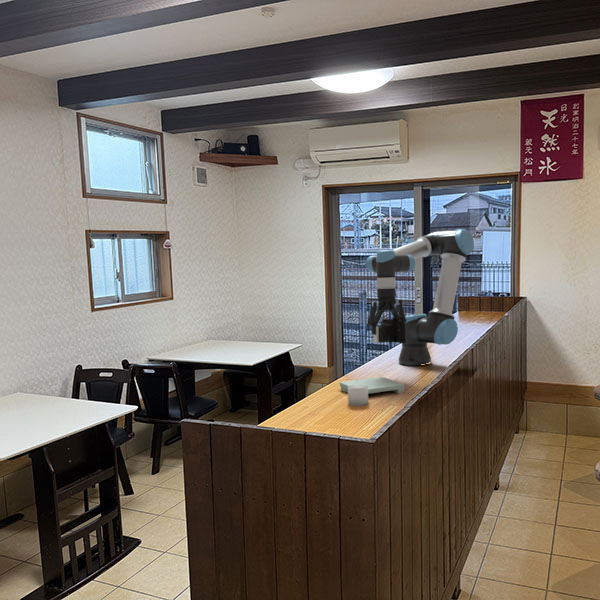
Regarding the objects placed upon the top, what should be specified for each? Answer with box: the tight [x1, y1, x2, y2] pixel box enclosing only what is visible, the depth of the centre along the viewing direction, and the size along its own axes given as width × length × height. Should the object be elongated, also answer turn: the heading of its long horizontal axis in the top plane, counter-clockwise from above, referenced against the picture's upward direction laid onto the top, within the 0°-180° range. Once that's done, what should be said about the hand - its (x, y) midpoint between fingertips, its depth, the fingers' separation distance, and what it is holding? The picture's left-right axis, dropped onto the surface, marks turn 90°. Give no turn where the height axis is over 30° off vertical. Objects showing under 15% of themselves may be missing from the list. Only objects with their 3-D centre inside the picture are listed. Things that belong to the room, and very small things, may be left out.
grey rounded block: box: [347, 384, 369, 407], centre depth 196 cm, size 7×7×6 cm
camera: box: [378, 317, 406, 344], centre depth 231 cm, size 14×11×10 cm
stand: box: [339, 376, 406, 395], centre depth 213 cm, size 19×16×3 cm
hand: (387, 341), depth 232 cm, fingers closed on camera, 10 cm apart
